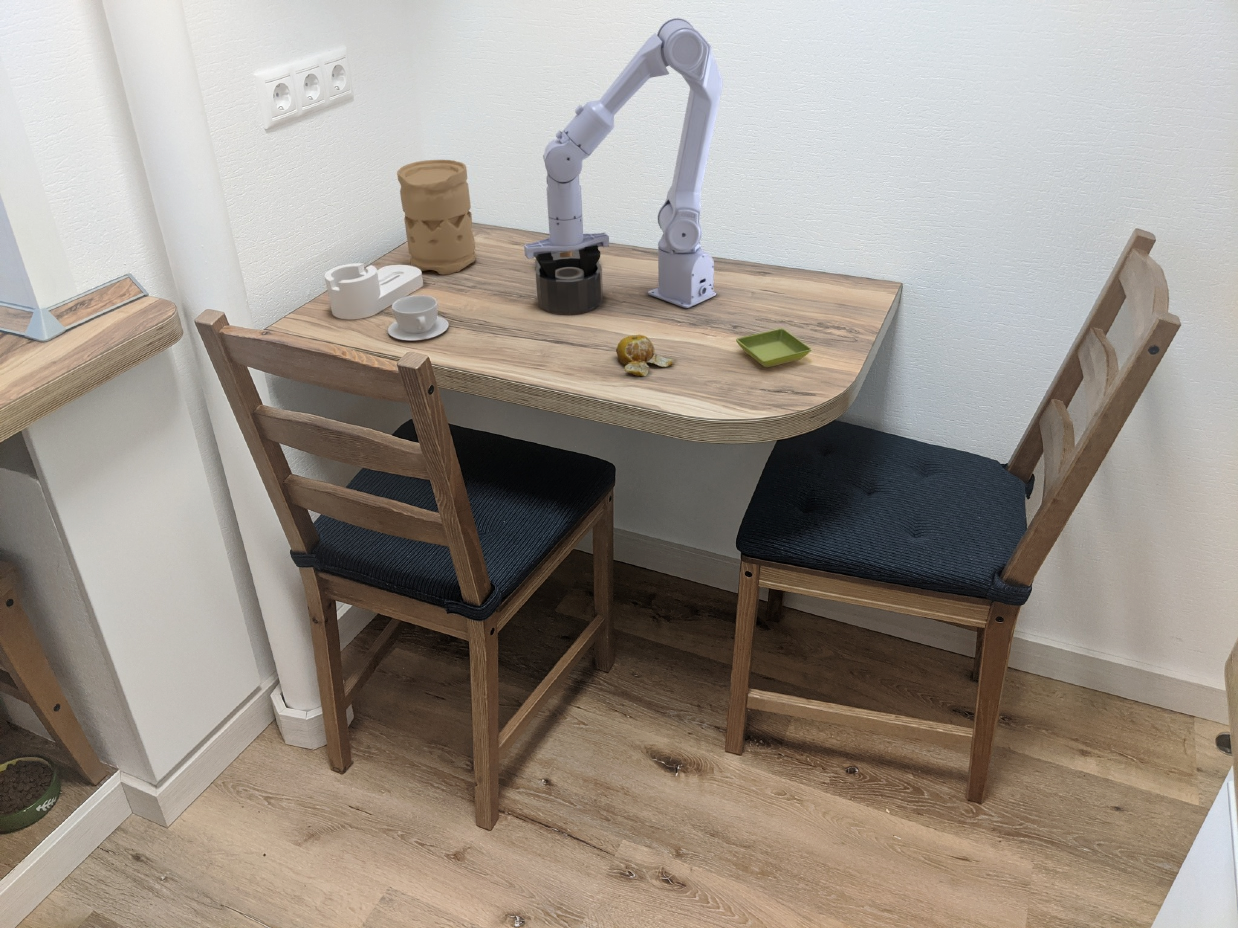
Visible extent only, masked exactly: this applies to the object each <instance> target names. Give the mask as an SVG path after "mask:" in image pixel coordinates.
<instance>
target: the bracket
mask: <svg viewBox="0 0 1238 928" xmlns="http://www.w3.org/2000/svg"><path fill="white" fill-rule="evenodd" d="M422 273H423V271H421V270H420V269H418V268H417V267H414V266H412V265H410V264H409V265H408V264H391V265H385V266H383V267H381V268H379V269H377V267H376V266H374V265H372V264H371V265H368V266H367V267H365V266H364V263H359V262H358V263H347V264H341V265H337V266H335V267H333V268H330V269H328V270H327V271H326V272H325V273H324V280H325V285H326V291H327V296H328V300H329V305H330V309H331V314H332V316H334V317H335V318H337V319H341V320H349V321H350V320H362V319H365V318H366V319H367V318H369V317H373V316H375V315H377V314H378V313H381V312H382V311H383V310H385V309H387V308H389V307H391V306H392V304H393V303H394V302H395V301H396V300H398V299H400V298H403V297H407V296H410V295H411V294H412V293H414V292H415V291H418V290H419V289H421V288H422V287H424V281H423V274H422Z"/></svg>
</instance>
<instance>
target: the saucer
mask: <svg viewBox="0 0 1238 928" xmlns="http://www.w3.org/2000/svg"><path fill="white" fill-rule="evenodd" d="M735 341H736V343H737V344H738V346H739V347H740V348H741V349H742V350H743V351H744V352H745V353H746V354H747V355H749V356H750V357H751V358H752V359H754V360H755V361H756V362H758V363H759V364H760V365H761V366H763V367H764V368H767V369H768V368H771V367H772V368H773V367H775V366H780V365H783V364H789V363H792V362H795V361H799V360H801V359H803V358H804V357H806V356H807V355H808V354H810V352H812V348H811V347H810V346H809V345H807V344H806V343H805V342H803V341H802V340H800V339H799V338H797V337H796V336H794V335H793V334H792V333H790V332H789V331H788V330H787V329H785V328H776V329H772V330H768V331H763V332H758V333H754V334H749V335H746V336H741V337H737V338H736V339H735Z"/></svg>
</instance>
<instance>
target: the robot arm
mask: <svg viewBox="0 0 1238 928" xmlns="http://www.w3.org/2000/svg"><path fill="white" fill-rule="evenodd" d="M667 67H670V68H671V69H672V70H674V71H675V72H676V73H678V74H679V75H681V77H682V78H683V79H684V81H685V82H686V84H687V85H688V87H689V92H688V97H687V103H686V108H685V114H684V118H683V124H682V128H681V129H682V130H681V135H680V138H679V139H680V140H679V145H678V151H677V155H676V161H675V166H674V172H673V178H672V182H671V186H670V187H669V189H668V190H667V194H666V198H665V201H664V203H663V204H662V205H661V207H660V209H659V210H658V213H657V224H658V226H659V228H660V230H661V232H662V233H663V234H662V235H661V237H660V239H659V240H658V241H657V260H658V261H657V285H658V286H657V287H655V288H653V289H650V290H648V291H647V294H648V295H649V296H651V297H655V298H656V299H659V300H662V301H664V302H668V303H671V304H673V305H676V306H678V307H682V308H683V309H689V308H691V307H693V306H697V305H698V304H700V303H702V302H704V301H707V300H709V299H711V298H713V297H715V296H717V292H716V291H714V285H715V283H714V281H715V278H714V277H715V262H714V259H713V256H712V255H710V254H709V253H707V252H706V251H705V250H703V248H702V247H701V240H702V236H703V229H702V225H701V221H700V219H701V214H702V206H701V205H702V201H701V192H702V189H703V183H704V180H705V179H704V178H705V173H706V168H707V165H708V164H707V163H708V159H709V154H710V149H711V144H712V140H713V134H714V130H715V125H716V120H717V115H718V111H719V106H720V102H721V101H720V100H721V95H722V90H723V77H722V76H721V72H720V70H719V67H718V64H717V61H716V58H715V56H714V54H713V49H712V45H711V44H710V43H709V42H708V41H707V40H706V38H705V37H704V36H703V35H702V33H701V32H699V30H697V29H695V27H694V26H693V25H692V24H691V23H690V22H689V21H687V20H686V19H684V18H680V17H673V18H670V19H668V20H666V21H665V22H664V23H662V24H661V26H660V27H659V28H658V30H657V33H656V32H655V33H653V34H652V35H651V36H650V37H648V38H647V40H646V41H645V42H644V43H643V45H642V46H641V47H640V48H639V50H638V51H637V52H636V53H635V54H634V56H633V57H632V58H631V59H630V61H629V62H628V64H626V66H625V67H624V68H623V70H622V71H621V73H619V74H618V76H617V77H616V79H615V80H614V81H613V82H612V84H611V85H610V86H609V87H608V89H607V90H606V91H605V92H604V94H603V95H602V96H601V97H600V99H598V100H589V101H587V102H586V103H585V104H584V105H583V106H582V104H578V105H577V107H575V110H574V113H575V114H576V115H574V117H573V118H572V119H571V120H570V121H569V123H568V124H567V125H566V126H565V128H564V129H563V130H562V131H561V130H560V129H559V130H558V131H557V132H556V133H555V137H556V139H555V138H554V139H552V140H551V141H549V142H548V144H547V145H546V147H545V148H544V153H543V155H542V158H543V162H544V166H545V171H546V177H545V179H546V185H547V186H546V203H547V204H546V205H547V217H548V218H547V219H548V234H549V237H547V238H545V239H541V240H537V241H534V242H531V243H526V244H523V249H524V250H523V251H524V256H525V258H526V259H527V260H532V259H534V258H535V260H536V259H537V261H538V263H539V265H540V267H541V269H542V271H543V273H544V275H545V277H547V278H549V279H555V270H556V262H555V261H554V260H553V256H552V255H551V254H555V253H562V252H568V251H575V250H579V256H580V263H581V269H582V270H583V271H584V278H586V277H588V276H591V275H592V274H593V271H594V268H595V266H596V264H597V262H598V260H599V261H600V259H601V251H600V250H599V248H600V247H602V248H609V247H610V235H608V234H607V233H606V232H595V233H584V221H583V220H584V216H583V197H582V186H581V184H580V175H581V172H582V170H583V161H584V160H587V159H589V157H590V156H591V155H592V154H593V152H594V151H596V150H597V148H598V147H599V146H600V145H601V144H602V142H603V141H604V140H605V139H606V138H607V137H608V135H609V134H610V133H611V132H612V131H613V130H614V128H615V115H616V114H617V113H618V112H619V111H620V110H621V109H622V108H623V107H625V105H626V103H628V102H629V100H630V99H631V98H633V96H634V95H635V94H636V93H637V92H638V91H639V90H640V89H641V88H642V87H643V86H644V85H645V84H646V82H647V81H649V80H650V79H651V78H657V77H664V76H668V75H670V72H669V71H668V69H667Z"/></svg>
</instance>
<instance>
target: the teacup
mask: <svg viewBox="0 0 1238 928" xmlns="http://www.w3.org/2000/svg"><path fill="white" fill-rule="evenodd" d="M438 304H439V303H438V299H436V298H435V297H434V296H431V295H427V294H414V295H407V296H405V297H403V298H400V299H398V300H396V301H395V302H394V303H393V304H392V305H391V308H392V312H393V316H394V319H395V321H393V322H392V323H391V324H390V325H389V326H388V328H387V333H388V335H389V336H391V337H393V338H394V339H397V340H401V341H421V340H428V339H432V338H434V337H437V336H440V335H441V334H443V333H444V332H445V331H447V330H448V329H449V322H448V320H447V319H446V318H444V317H442V316H438V311H439V310H438V309H439V308H438V306H439V305H438Z"/></svg>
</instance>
